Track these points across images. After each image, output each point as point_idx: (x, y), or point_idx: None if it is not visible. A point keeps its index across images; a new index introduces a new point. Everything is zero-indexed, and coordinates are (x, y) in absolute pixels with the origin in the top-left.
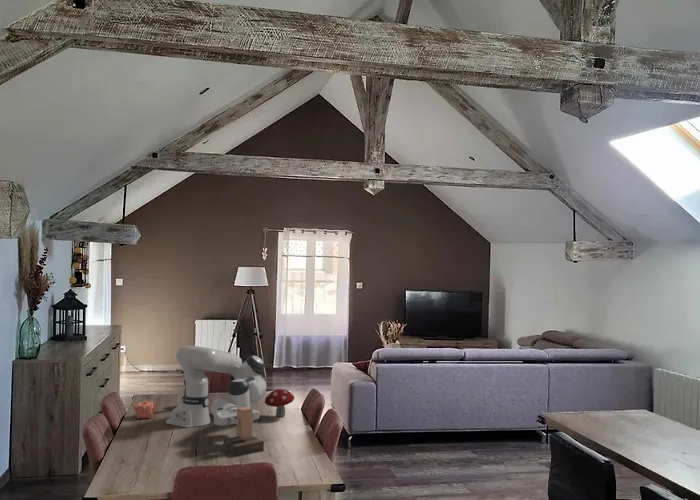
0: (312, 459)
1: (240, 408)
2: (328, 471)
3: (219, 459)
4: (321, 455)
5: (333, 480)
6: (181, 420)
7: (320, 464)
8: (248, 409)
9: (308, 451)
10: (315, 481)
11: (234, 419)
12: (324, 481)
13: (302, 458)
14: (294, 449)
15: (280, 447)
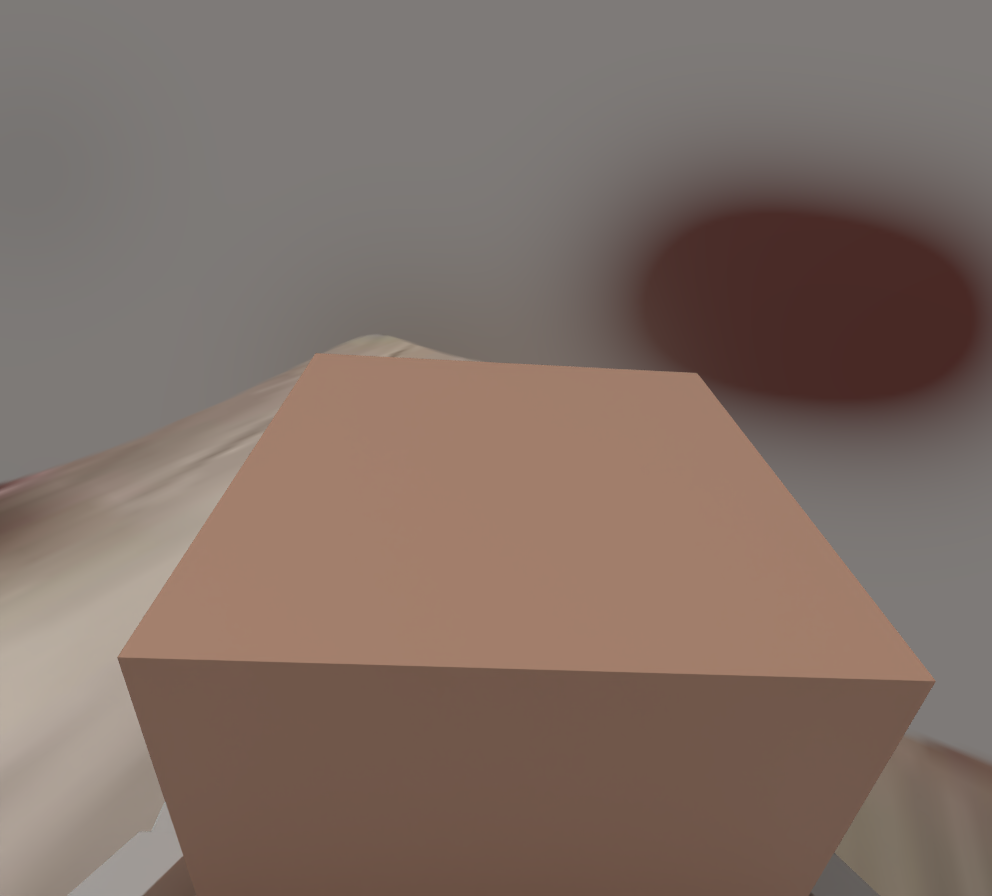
0: (188, 470)
1: (722, 514)
2: (296, 375)
3: (903, 882)
4: (70, 482)
5: (363, 341)
6: None
7: (238, 420)
8: (470, 366)
9: (15, 568)
10: (425, 357)
11: (857, 880)
12: (397, 348)
13: (213, 504)
14: (12, 668)
15: (7, 819)
